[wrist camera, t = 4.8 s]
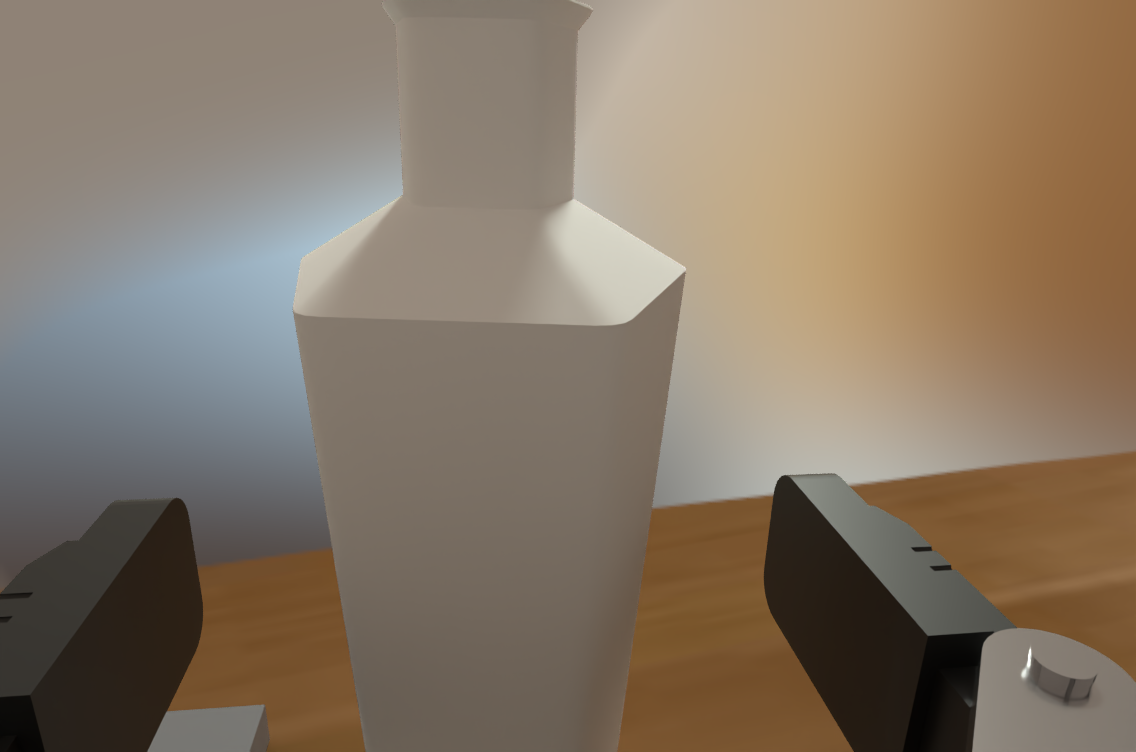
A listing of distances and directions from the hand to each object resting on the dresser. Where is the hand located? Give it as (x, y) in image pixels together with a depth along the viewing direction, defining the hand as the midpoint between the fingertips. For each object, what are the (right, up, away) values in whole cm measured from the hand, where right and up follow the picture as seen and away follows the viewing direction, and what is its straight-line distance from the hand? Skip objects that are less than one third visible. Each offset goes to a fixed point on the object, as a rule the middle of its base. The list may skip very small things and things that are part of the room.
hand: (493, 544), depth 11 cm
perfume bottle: (0, -8, +2) cm, 9 cm away
